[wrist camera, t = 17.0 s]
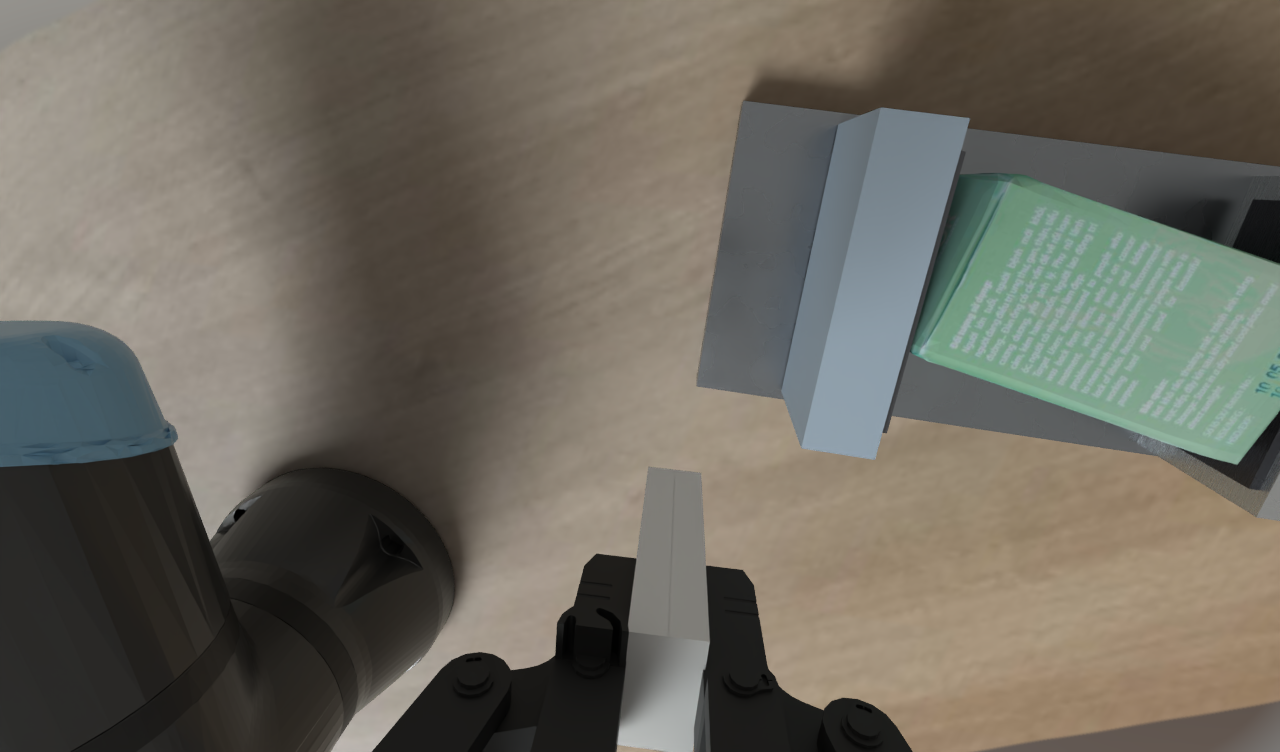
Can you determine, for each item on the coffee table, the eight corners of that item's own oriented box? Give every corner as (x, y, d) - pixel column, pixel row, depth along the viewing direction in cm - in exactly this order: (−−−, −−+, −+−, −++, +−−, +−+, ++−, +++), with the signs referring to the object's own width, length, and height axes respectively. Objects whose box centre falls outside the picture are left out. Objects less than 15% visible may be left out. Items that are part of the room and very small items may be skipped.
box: (931, 167, 28) (1009, 167, 21) (1209, 261, 28) (1382, 293, 21) (863, 316, 30) (911, 361, 23) (1119, 401, 30) (1245, 472, 23)
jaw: (781, 391, 31) (801, 448, 25) (838, 124, 27) (880, 107, 21) (847, 401, 31) (884, 461, 25) (914, 133, 27) (981, 119, 20)
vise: (696, 377, 33) (694, 440, 25) (741, 104, 29) (755, 76, 21) (1182, 450, 32) (1342, 542, 24) (1310, 174, 27) (1560, 173, 19)
